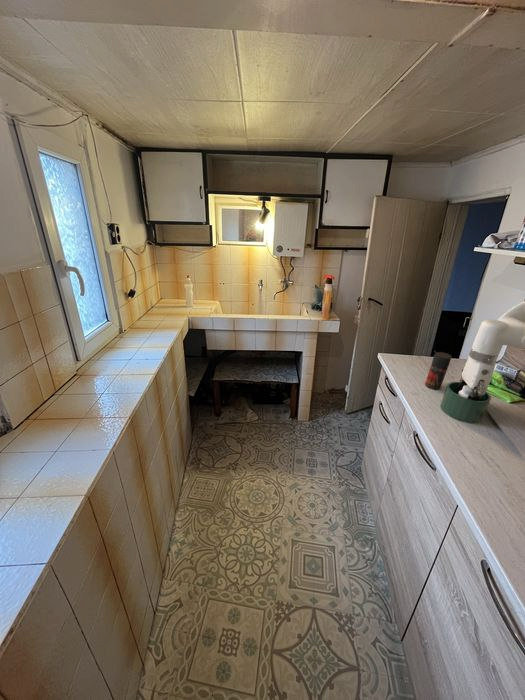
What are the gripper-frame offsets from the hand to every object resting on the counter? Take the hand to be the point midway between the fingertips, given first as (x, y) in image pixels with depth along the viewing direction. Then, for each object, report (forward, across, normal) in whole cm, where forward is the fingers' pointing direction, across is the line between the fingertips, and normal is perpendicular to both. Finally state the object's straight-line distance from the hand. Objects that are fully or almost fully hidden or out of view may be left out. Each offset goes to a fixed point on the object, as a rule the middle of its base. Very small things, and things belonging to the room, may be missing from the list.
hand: (465, 398), depth 103 cm
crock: (+6, 0, 0) cm, 6 cm away
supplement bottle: (+5, 0, 0) cm, 5 cm away
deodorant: (+6, +17, +5) cm, 19 cm away
